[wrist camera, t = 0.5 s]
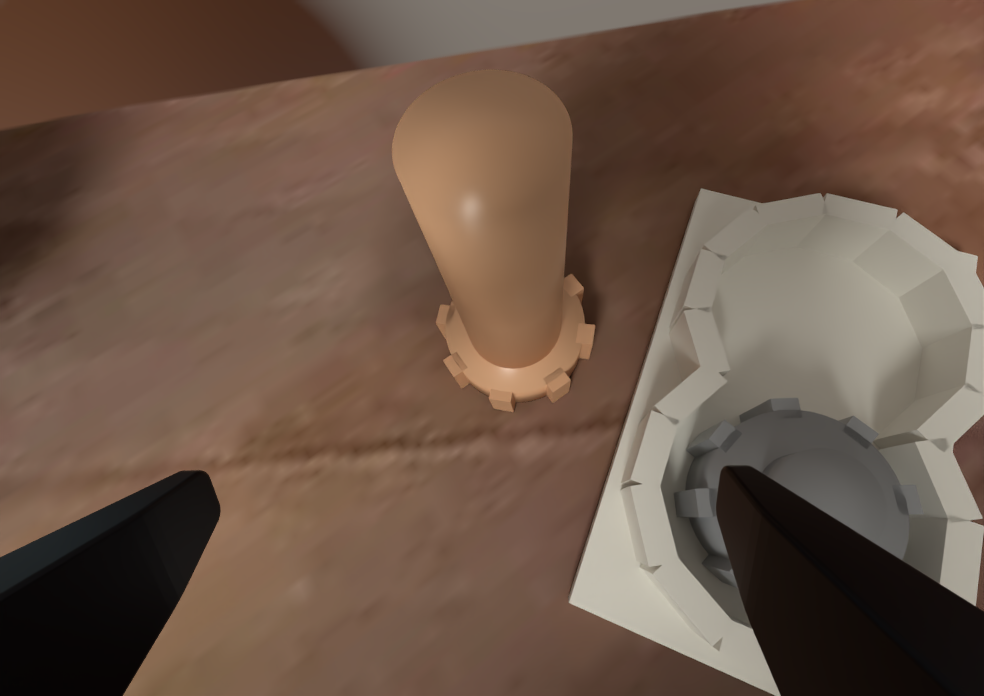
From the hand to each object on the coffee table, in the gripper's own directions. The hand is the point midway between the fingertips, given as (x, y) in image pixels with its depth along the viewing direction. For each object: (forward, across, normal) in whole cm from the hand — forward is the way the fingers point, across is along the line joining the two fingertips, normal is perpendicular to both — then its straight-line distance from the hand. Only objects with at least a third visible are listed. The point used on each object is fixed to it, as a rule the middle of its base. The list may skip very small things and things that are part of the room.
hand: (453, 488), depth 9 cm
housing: (+12, -11, +6) cm, 17 cm away
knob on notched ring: (+14, 0, +3) cm, 15 cm away
